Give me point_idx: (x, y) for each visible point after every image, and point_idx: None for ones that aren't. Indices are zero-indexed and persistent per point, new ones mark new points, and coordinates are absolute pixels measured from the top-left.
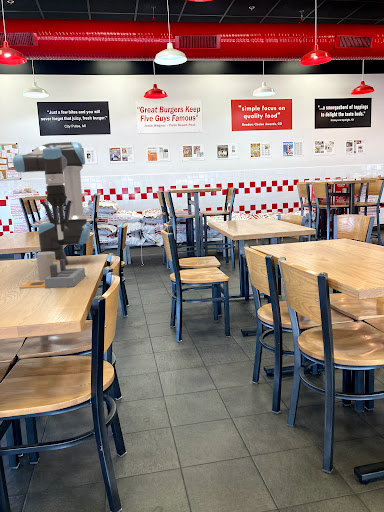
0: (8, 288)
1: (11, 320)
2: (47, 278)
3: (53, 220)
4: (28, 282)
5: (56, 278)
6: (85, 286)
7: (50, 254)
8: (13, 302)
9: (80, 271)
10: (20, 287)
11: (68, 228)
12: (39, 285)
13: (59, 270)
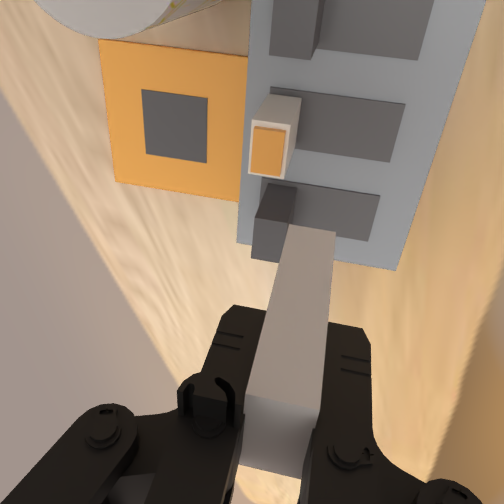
0: (59, 159)
1: (249, 479)
2: (251, 239)
3: (122, 481)
4: (108, 72)
5: None
6: (456, 253)
7: (169, 8)
8: (190, 363)
9: (454, 94)
10: (119, 181)
11: None
12: (204, 172)
13: (296, 128)
